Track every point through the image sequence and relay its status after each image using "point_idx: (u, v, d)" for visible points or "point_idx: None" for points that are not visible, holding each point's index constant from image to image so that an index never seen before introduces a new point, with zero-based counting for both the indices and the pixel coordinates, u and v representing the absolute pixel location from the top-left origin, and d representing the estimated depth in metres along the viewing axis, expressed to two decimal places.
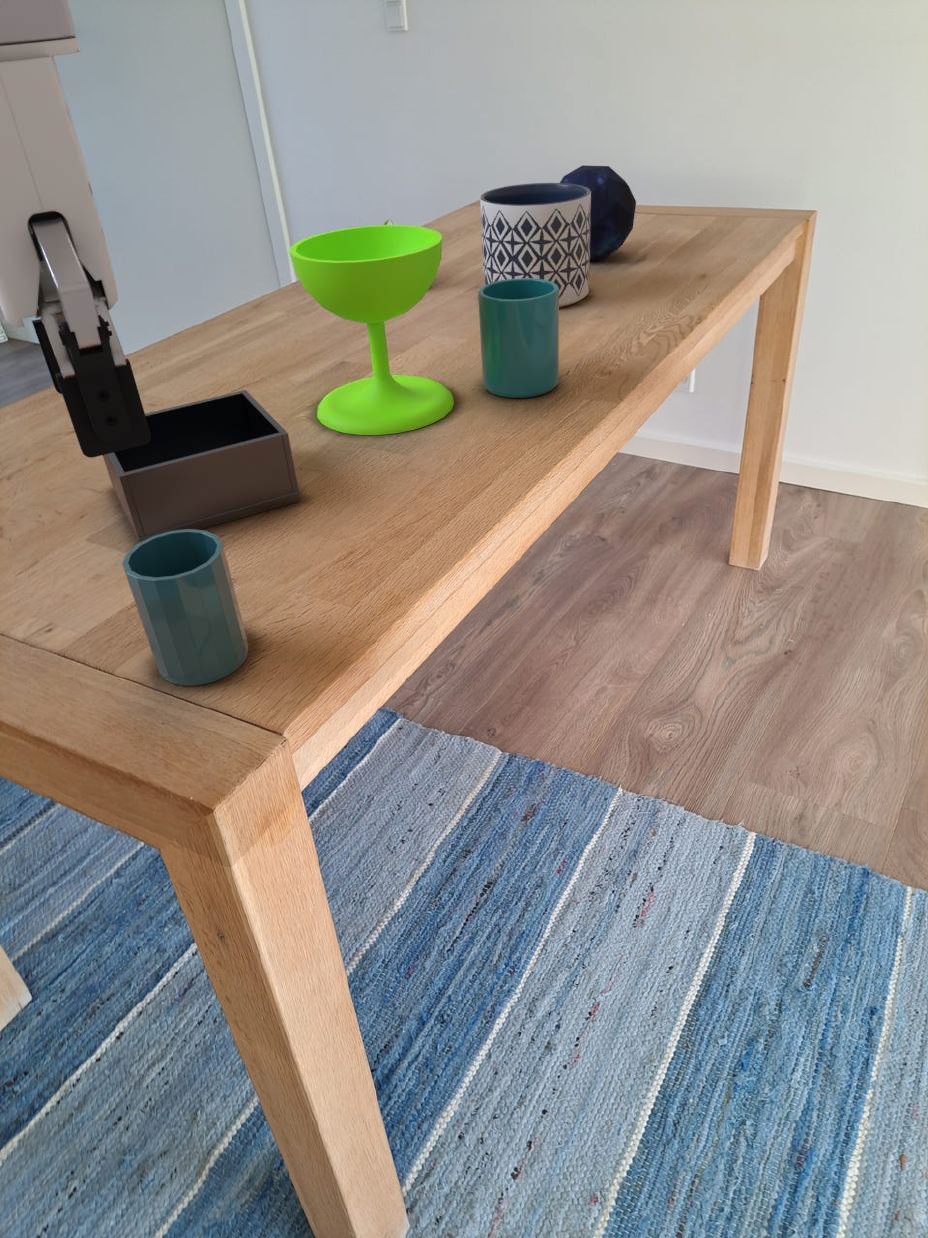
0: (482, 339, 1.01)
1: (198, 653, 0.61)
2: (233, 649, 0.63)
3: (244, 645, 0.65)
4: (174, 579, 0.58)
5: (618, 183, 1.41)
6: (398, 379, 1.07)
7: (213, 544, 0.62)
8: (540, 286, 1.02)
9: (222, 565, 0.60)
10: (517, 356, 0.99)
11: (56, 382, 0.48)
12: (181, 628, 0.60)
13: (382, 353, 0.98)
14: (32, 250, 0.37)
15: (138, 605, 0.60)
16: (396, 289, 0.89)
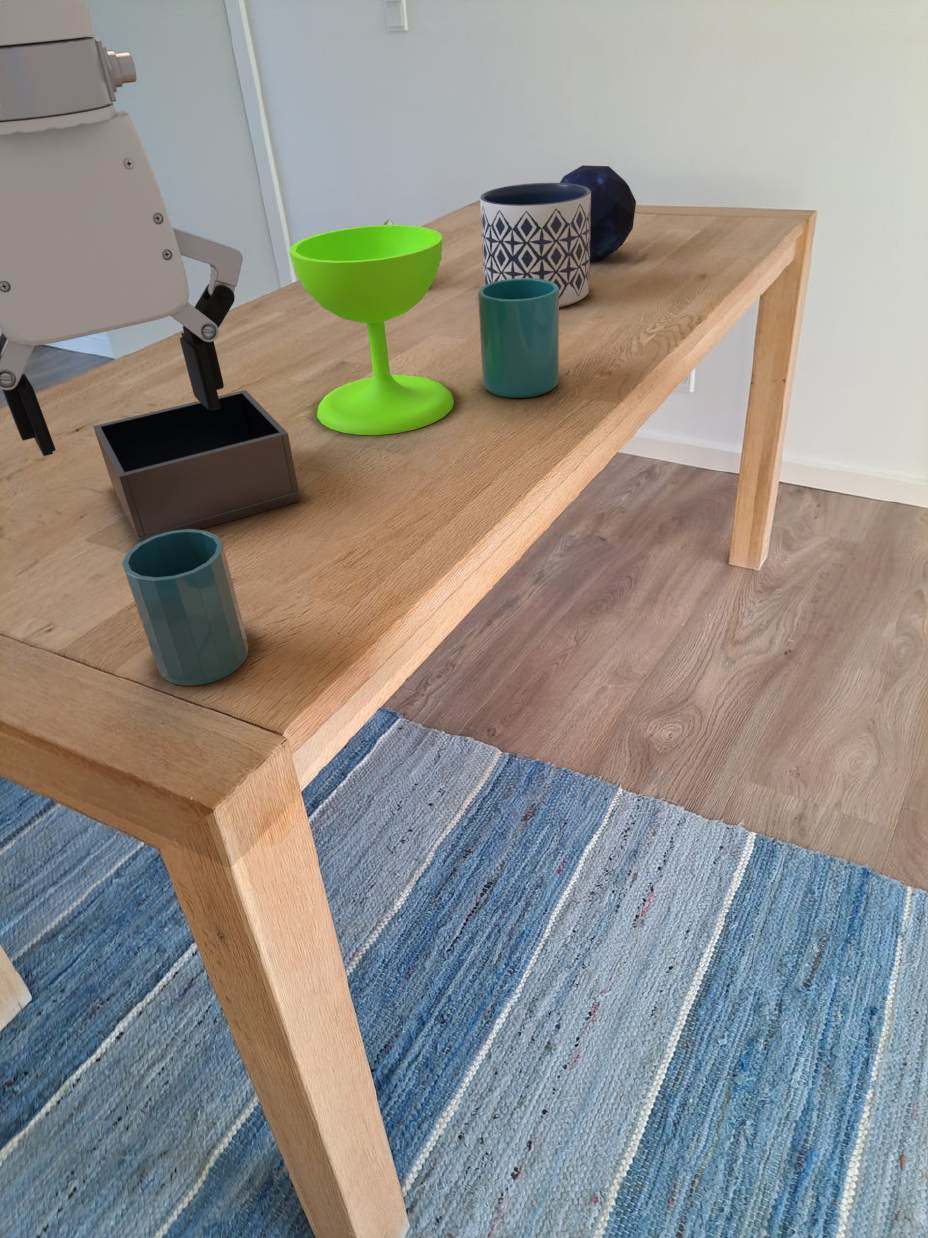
0: (482, 339, 1.01)
1: (198, 653, 0.61)
2: (233, 649, 0.63)
3: (244, 645, 0.65)
4: (174, 579, 0.58)
5: (618, 183, 1.41)
6: (398, 379, 1.07)
7: (213, 544, 0.62)
8: (540, 286, 1.02)
9: (222, 565, 0.60)
10: (517, 356, 0.99)
11: (193, 386, 0.55)
12: (181, 628, 0.60)
13: (382, 353, 0.98)
14: None
15: (138, 605, 0.60)
16: (396, 289, 0.89)
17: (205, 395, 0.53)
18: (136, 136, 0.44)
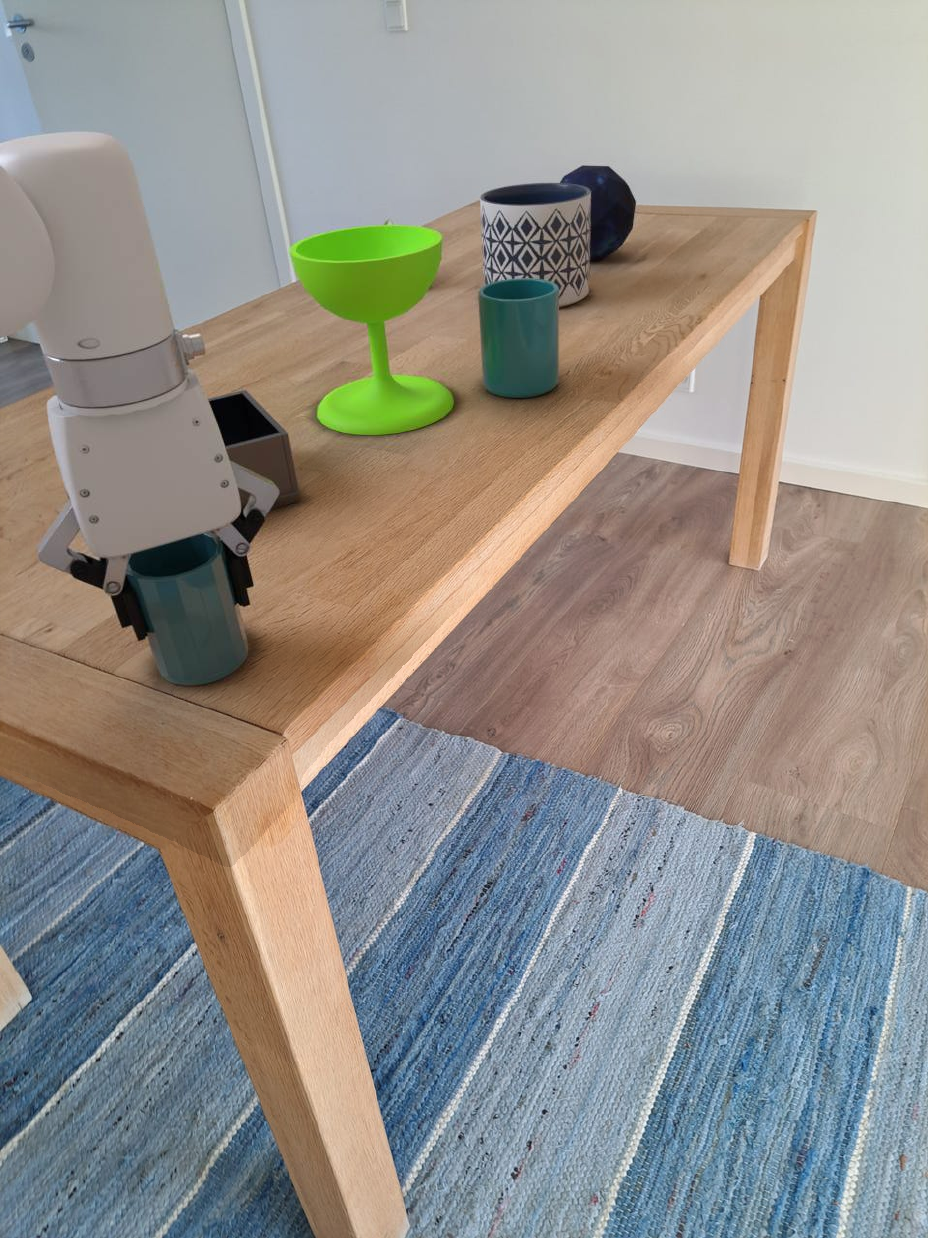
0: (482, 339, 1.01)
1: (198, 653, 0.61)
2: (233, 649, 0.63)
3: (244, 645, 0.65)
4: (175, 579, 0.58)
5: (618, 183, 1.41)
6: (398, 379, 1.07)
7: (213, 544, 0.62)
8: (540, 286, 1.02)
9: (222, 565, 0.60)
10: (517, 356, 0.99)
11: None
12: (181, 628, 0.60)
13: (382, 353, 0.98)
14: None
15: (138, 605, 0.60)
16: (396, 289, 0.89)
17: (238, 596, 0.63)
18: (203, 399, 0.54)
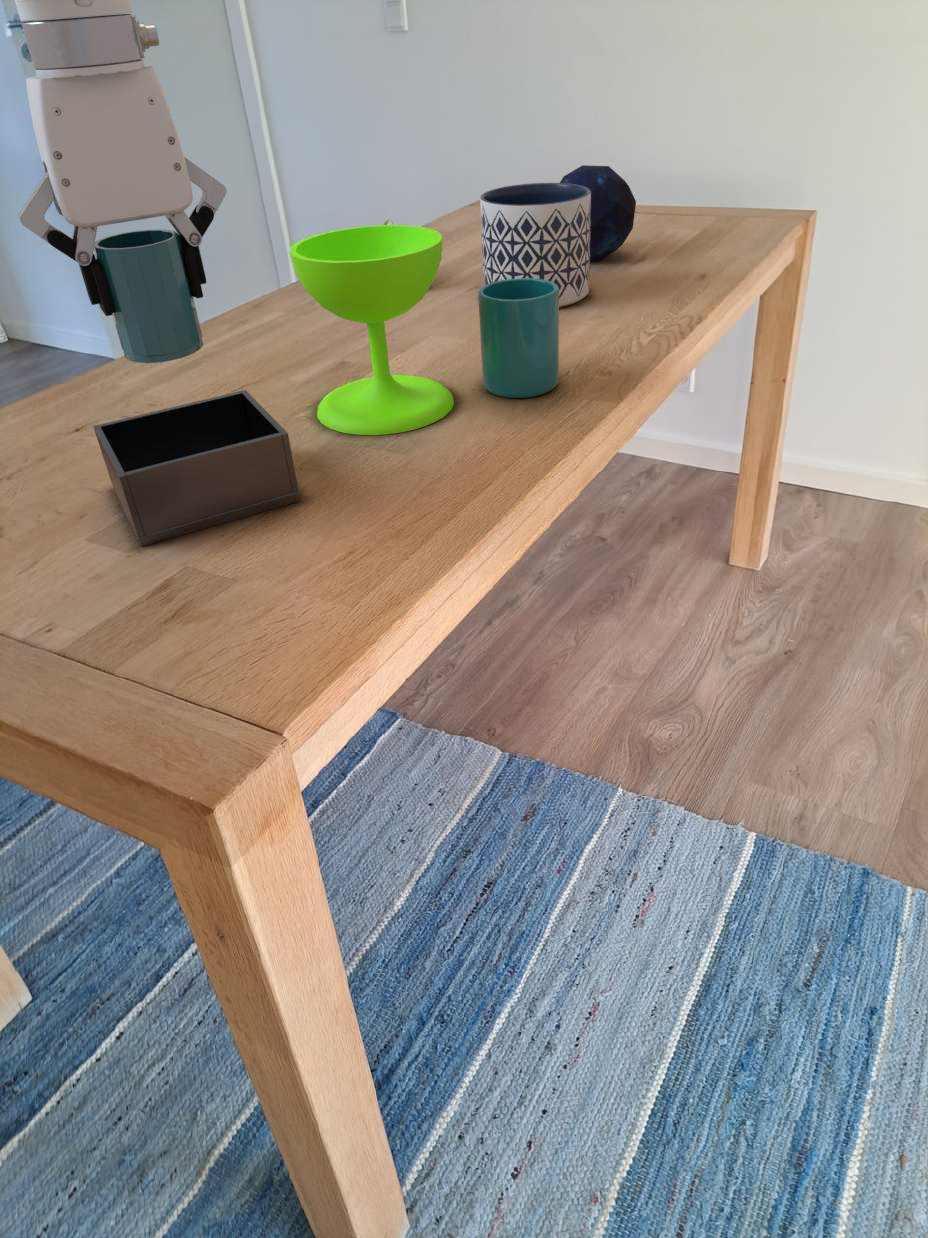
0: (482, 339, 1.01)
1: (157, 328, 0.72)
2: (188, 333, 0.74)
3: (199, 335, 0.75)
4: (135, 249, 0.69)
5: (618, 183, 1.41)
6: (398, 379, 1.07)
7: None
8: (540, 286, 1.02)
9: (177, 249, 0.71)
10: (517, 356, 0.99)
11: None
12: (142, 300, 0.71)
13: (382, 353, 0.98)
14: None
15: (106, 281, 0.71)
16: (396, 289, 0.89)
17: (192, 286, 0.74)
18: (157, 82, 0.65)
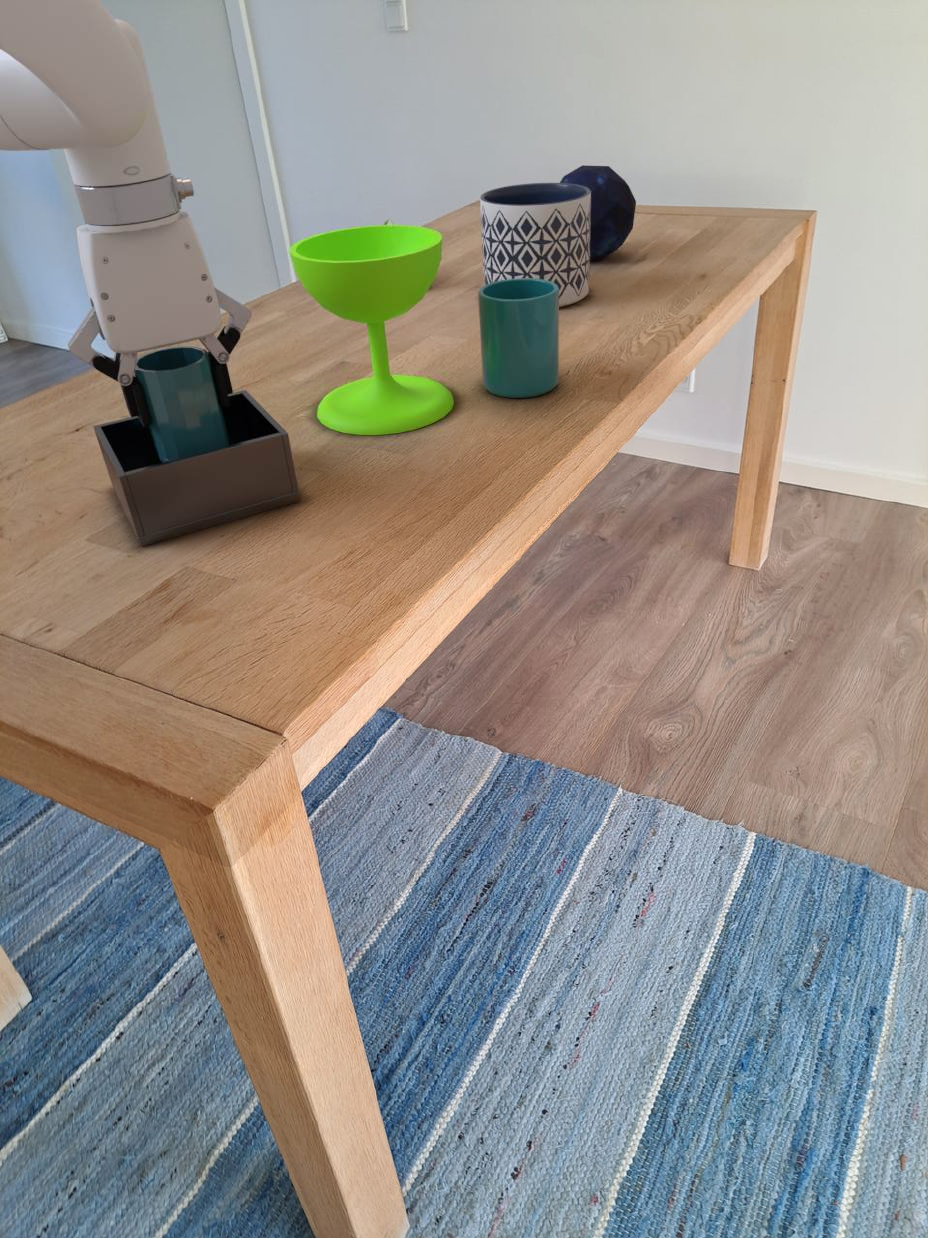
0: (482, 339, 1.01)
1: (190, 437, 0.80)
2: (217, 439, 0.82)
3: (226, 439, 0.83)
4: (171, 372, 0.77)
5: (618, 183, 1.41)
6: (398, 379, 1.07)
7: (201, 355, 0.81)
8: (540, 286, 1.02)
9: (208, 367, 0.79)
10: (517, 356, 0.99)
11: None
12: (176, 414, 0.79)
13: (382, 353, 0.98)
14: None
15: (144, 397, 0.79)
16: (396, 289, 0.89)
17: (220, 397, 0.82)
18: (192, 229, 0.73)
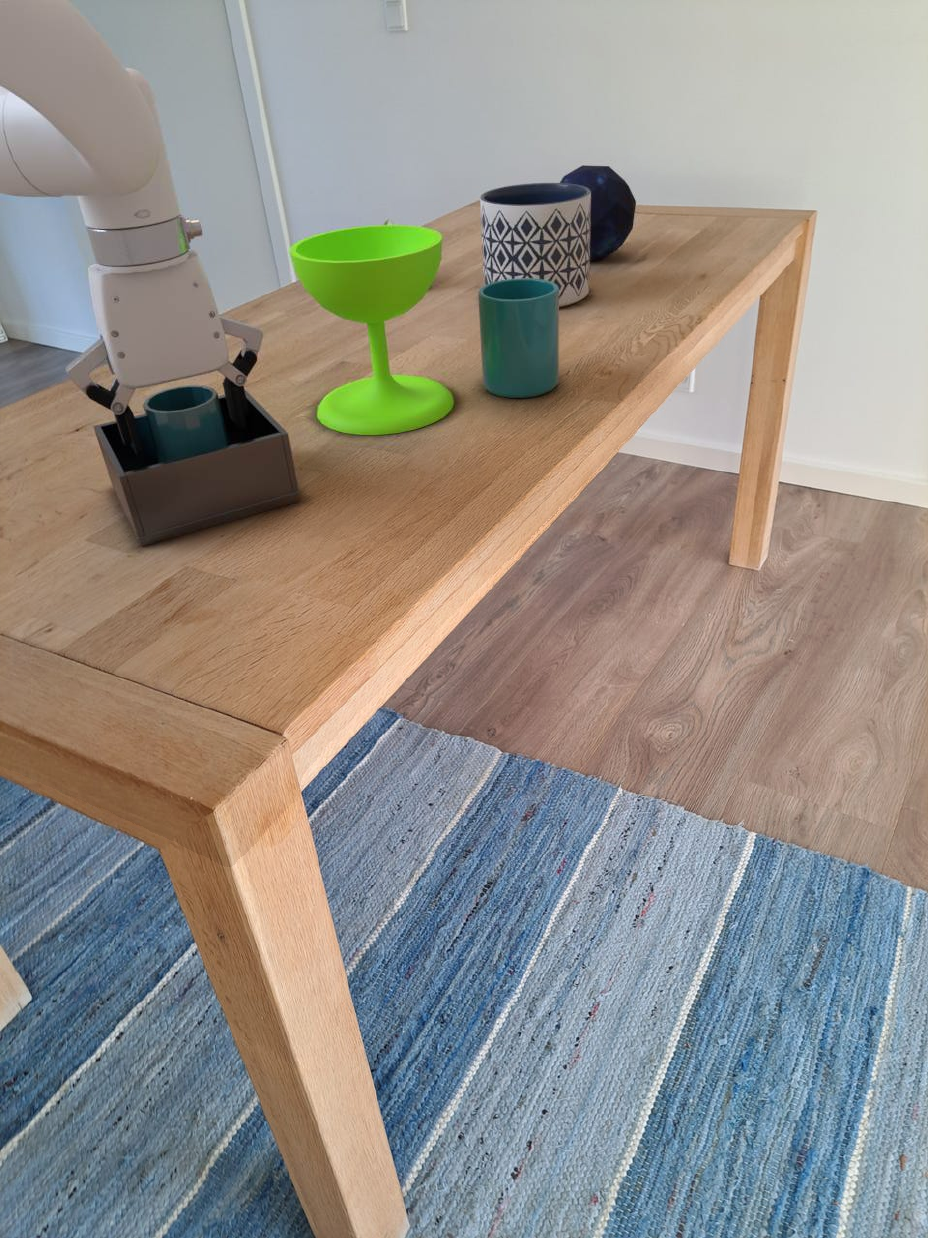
0: (482, 339, 1.01)
1: None
2: None
3: None
4: (181, 412, 0.79)
5: (618, 183, 1.41)
6: (398, 379, 1.07)
7: (210, 395, 0.83)
8: (540, 286, 1.02)
9: (217, 407, 0.81)
10: (517, 356, 0.99)
11: (230, 412, 0.86)
12: (186, 453, 0.81)
13: (382, 353, 0.98)
14: None
15: (154, 436, 0.81)
16: (396, 289, 0.89)
17: (237, 419, 0.83)
18: (201, 268, 0.75)
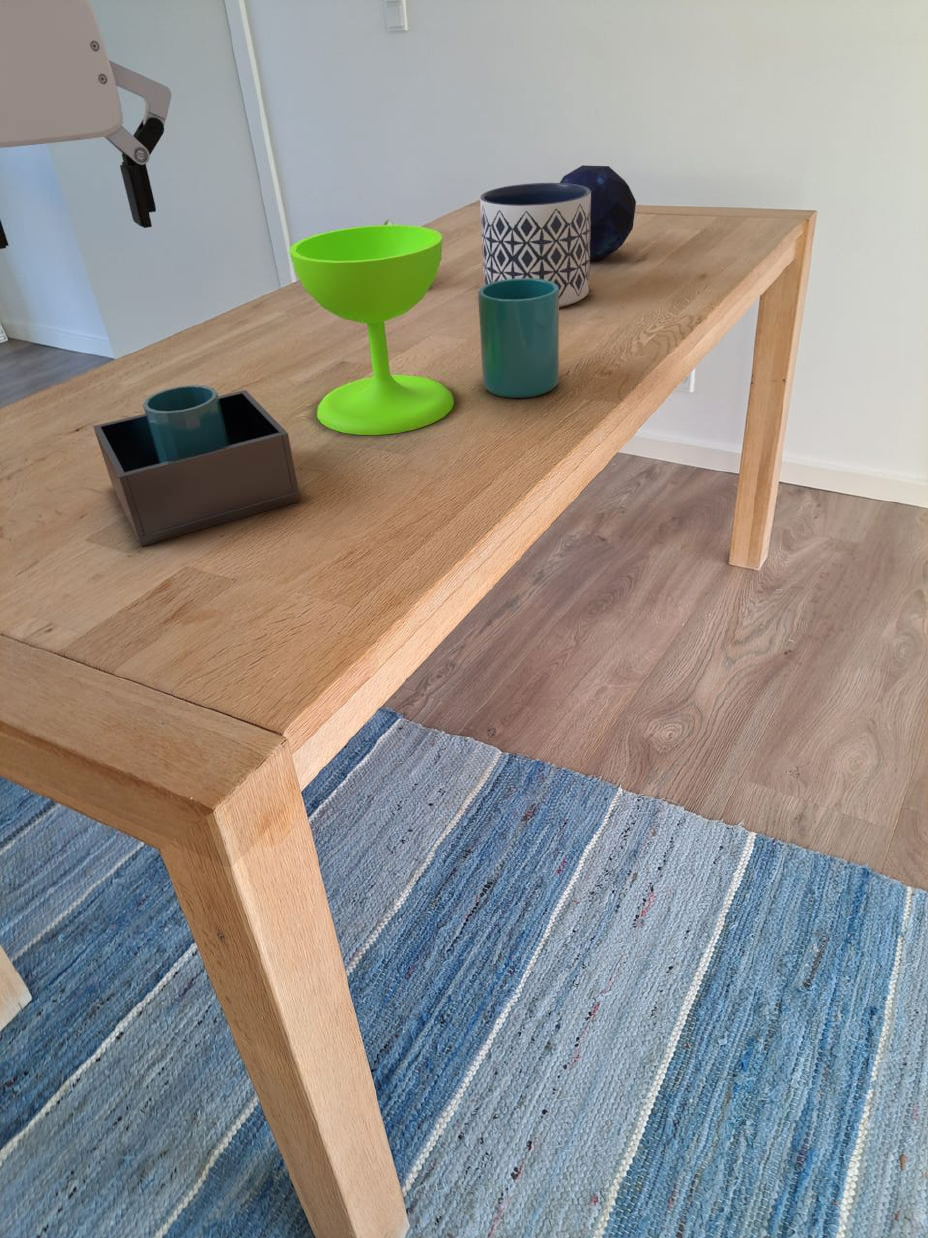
0: (482, 339, 1.01)
1: None
2: None
3: None
4: (181, 412, 0.79)
5: (618, 183, 1.41)
6: (398, 379, 1.07)
7: (210, 395, 0.83)
8: (540, 286, 1.02)
9: (217, 407, 0.81)
10: (517, 356, 0.99)
11: (132, 211, 0.65)
12: (186, 453, 0.81)
13: (382, 353, 0.98)
14: None
15: (154, 436, 0.81)
16: (396, 289, 0.89)
17: (138, 212, 0.63)
18: None
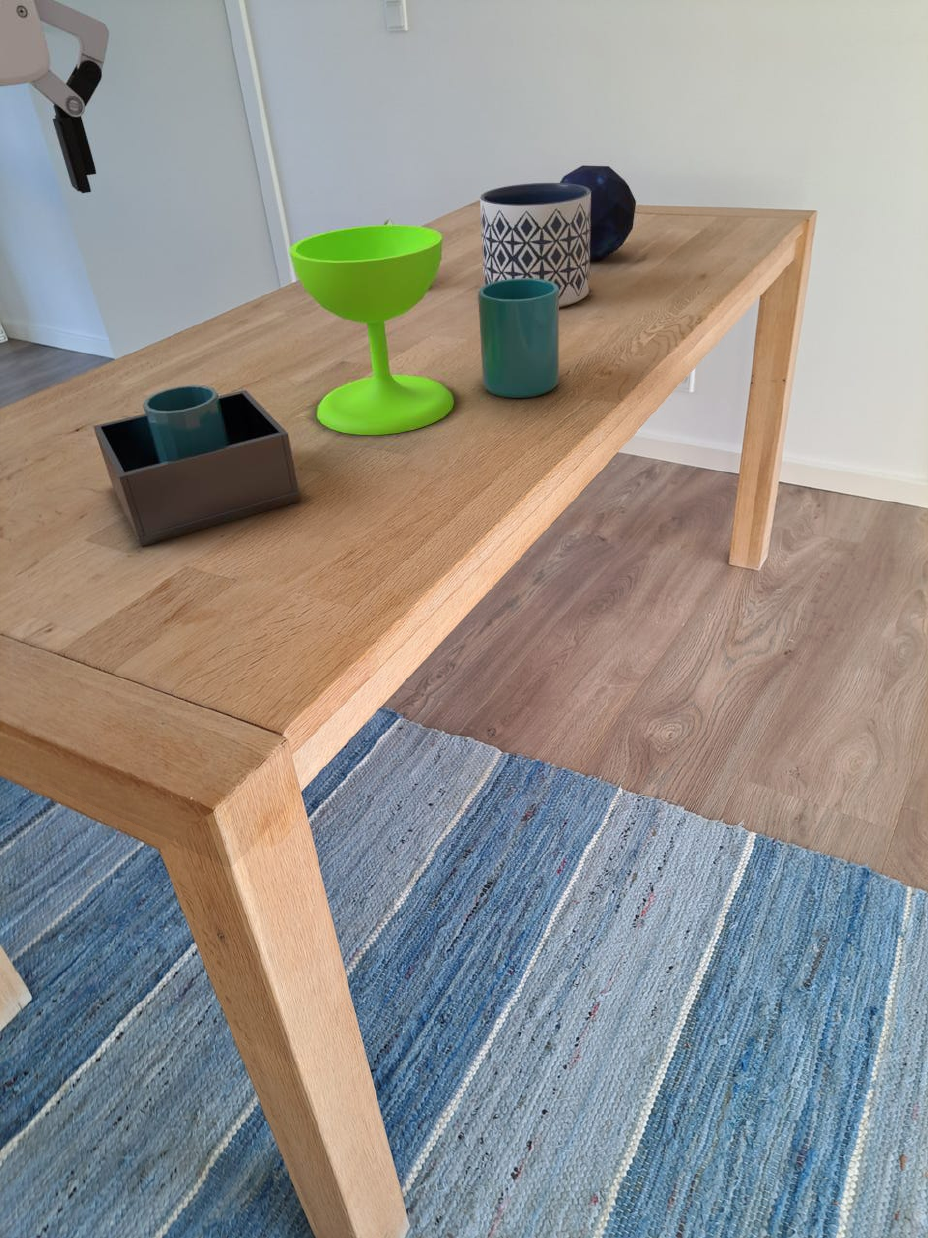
0: (482, 339, 1.01)
1: None
2: None
3: None
4: (181, 412, 0.79)
5: (618, 183, 1.41)
6: (398, 379, 1.07)
7: (210, 395, 0.83)
8: (540, 286, 1.02)
9: (217, 407, 0.81)
10: (517, 356, 0.99)
11: (69, 174, 0.56)
12: (186, 453, 0.81)
13: (382, 353, 0.98)
14: None
15: (154, 436, 0.81)
16: (396, 289, 0.89)
17: (74, 175, 0.53)
18: None
